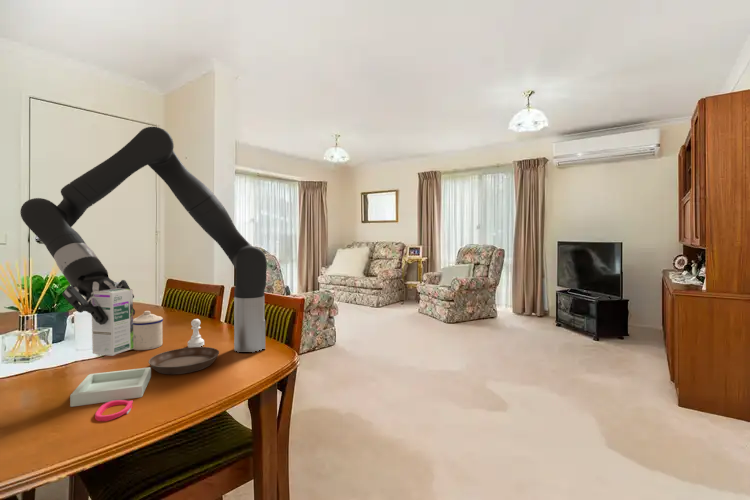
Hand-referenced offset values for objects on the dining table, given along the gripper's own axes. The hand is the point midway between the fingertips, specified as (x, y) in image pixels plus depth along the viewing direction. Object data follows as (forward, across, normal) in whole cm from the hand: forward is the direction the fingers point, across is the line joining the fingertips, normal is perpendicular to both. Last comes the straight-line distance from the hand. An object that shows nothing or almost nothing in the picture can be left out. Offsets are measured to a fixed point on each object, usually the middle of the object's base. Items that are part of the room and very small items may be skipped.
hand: (118, 318), depth 86 cm
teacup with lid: (-6, +28, +30) cm, 42 cm away
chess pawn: (+5, +35, +19) cm, 40 cm away
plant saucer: (+13, +19, +12) cm, 26 cm away
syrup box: (+4, 0, +7) cm, 8 cm away
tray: (+11, 0, +13) cm, 17 cm away
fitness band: (+18, -8, +6) cm, 21 cm away
